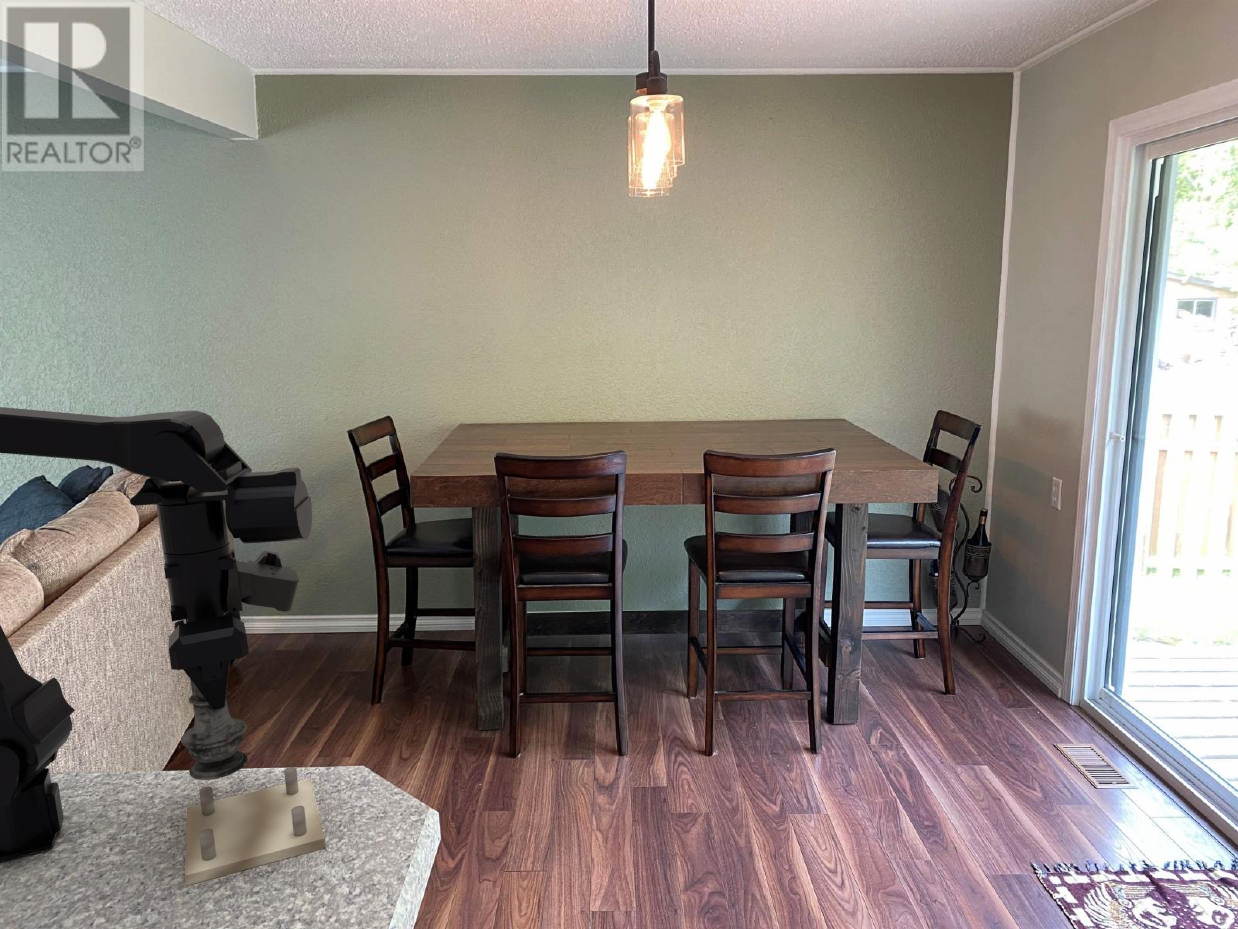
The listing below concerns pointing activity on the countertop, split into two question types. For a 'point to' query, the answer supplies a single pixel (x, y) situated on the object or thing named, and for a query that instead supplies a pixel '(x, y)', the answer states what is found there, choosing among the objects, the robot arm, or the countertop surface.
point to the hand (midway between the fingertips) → (218, 700)
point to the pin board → (251, 828)
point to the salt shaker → (214, 740)
